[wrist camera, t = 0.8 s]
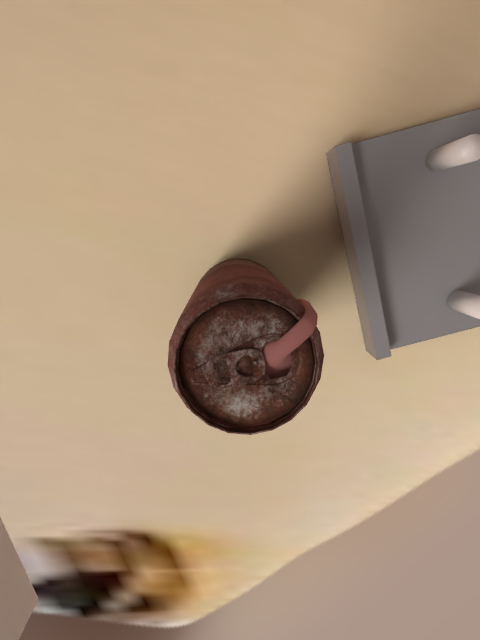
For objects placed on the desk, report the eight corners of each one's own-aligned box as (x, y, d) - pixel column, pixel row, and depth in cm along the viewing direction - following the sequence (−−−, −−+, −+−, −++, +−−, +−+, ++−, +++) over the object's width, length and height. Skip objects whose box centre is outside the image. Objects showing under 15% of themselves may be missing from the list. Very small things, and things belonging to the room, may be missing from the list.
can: (301, 296, 28) (368, 358, 15) (240, 359, 29) (250, 473, 16) (238, 236, 27) (249, 244, 14) (177, 304, 28) (129, 374, 15)
